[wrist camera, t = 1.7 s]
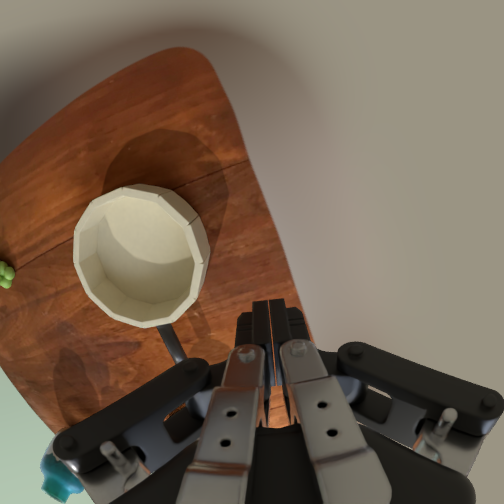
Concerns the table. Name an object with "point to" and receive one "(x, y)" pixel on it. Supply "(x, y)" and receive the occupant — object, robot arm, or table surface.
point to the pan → (142, 257)
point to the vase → (58, 475)
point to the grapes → (6, 275)
